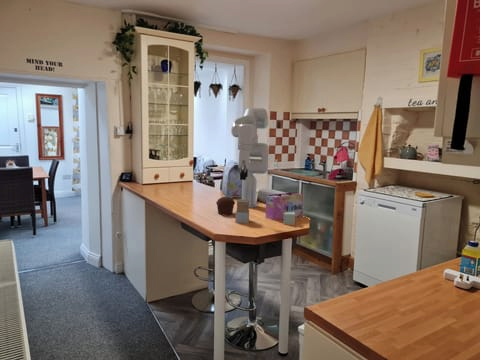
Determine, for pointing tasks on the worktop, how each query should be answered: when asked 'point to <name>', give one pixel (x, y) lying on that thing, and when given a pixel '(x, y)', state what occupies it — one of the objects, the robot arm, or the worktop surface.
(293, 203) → the gum box
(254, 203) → the robot arm
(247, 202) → the walnut block
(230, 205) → the muffin
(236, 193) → the lunch bag
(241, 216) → the base block
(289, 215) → the sage block
